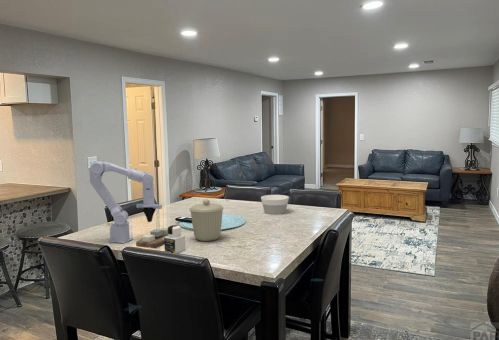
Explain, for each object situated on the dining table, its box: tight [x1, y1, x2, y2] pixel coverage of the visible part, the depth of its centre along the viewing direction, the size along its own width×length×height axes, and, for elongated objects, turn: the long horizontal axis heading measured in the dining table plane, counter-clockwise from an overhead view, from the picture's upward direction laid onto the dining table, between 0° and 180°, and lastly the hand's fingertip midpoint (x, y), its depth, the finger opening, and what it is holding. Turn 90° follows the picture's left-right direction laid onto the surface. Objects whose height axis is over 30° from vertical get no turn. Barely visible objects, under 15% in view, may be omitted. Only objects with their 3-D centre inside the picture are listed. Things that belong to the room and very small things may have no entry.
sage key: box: [158, 227, 168, 235], centre depth 210 cm, size 5×5×2 cm
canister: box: [188, 198, 225, 242], centre depth 204 cm, size 18×18×21 cm
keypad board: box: [135, 233, 182, 249], centre depth 203 cm, size 12×22×2 cm, turn 157°
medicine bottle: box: [163, 224, 186, 254], centre depth 186 cm, size 7×7×12 cm
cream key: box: [141, 233, 155, 242], centre depth 197 cm, size 5×5×2 cm
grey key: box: [149, 228, 163, 237], centre depth 203 cm, size 5×5×2 cm
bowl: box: [260, 194, 290, 216], centre depth 266 cm, size 19×19×11 cm
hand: (149, 221), depth 206 cm, fingers closed
